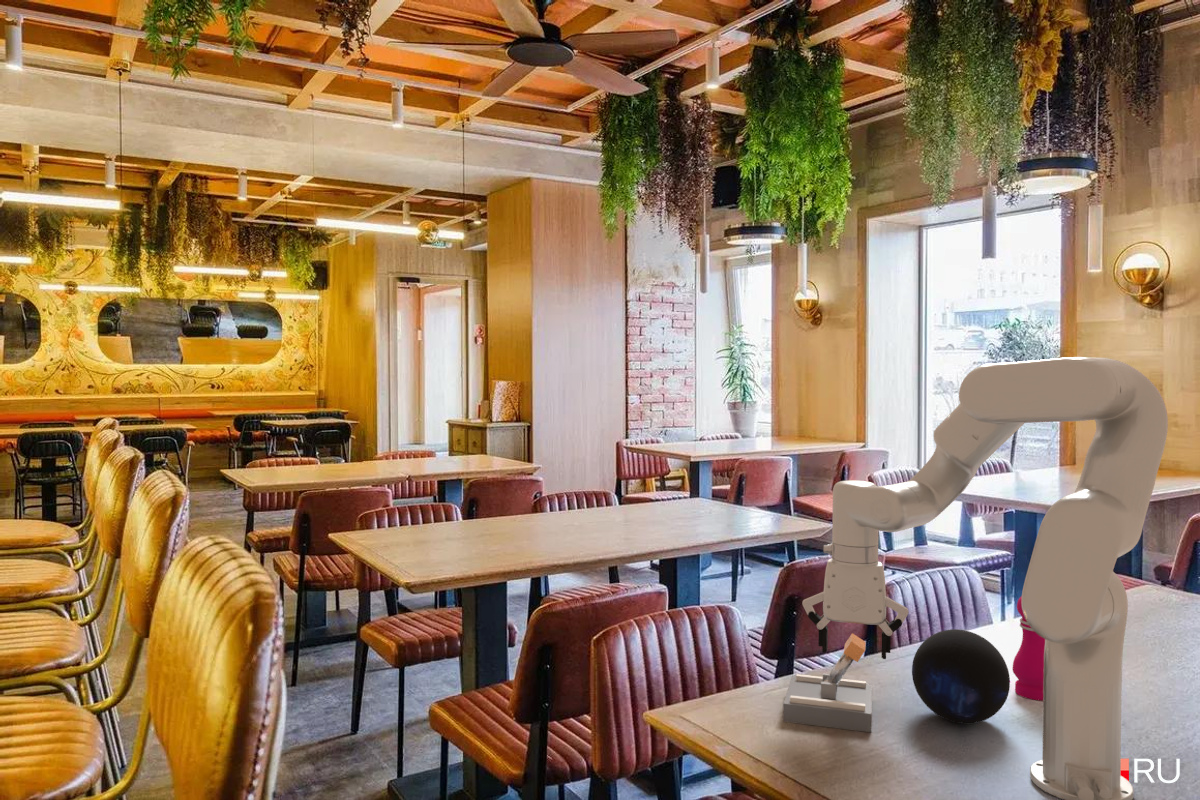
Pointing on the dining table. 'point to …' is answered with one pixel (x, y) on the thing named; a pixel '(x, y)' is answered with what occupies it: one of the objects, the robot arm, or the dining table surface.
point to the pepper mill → (1029, 661)
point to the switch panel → (829, 703)
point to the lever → (847, 658)
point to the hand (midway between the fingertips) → (854, 653)
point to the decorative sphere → (960, 676)
